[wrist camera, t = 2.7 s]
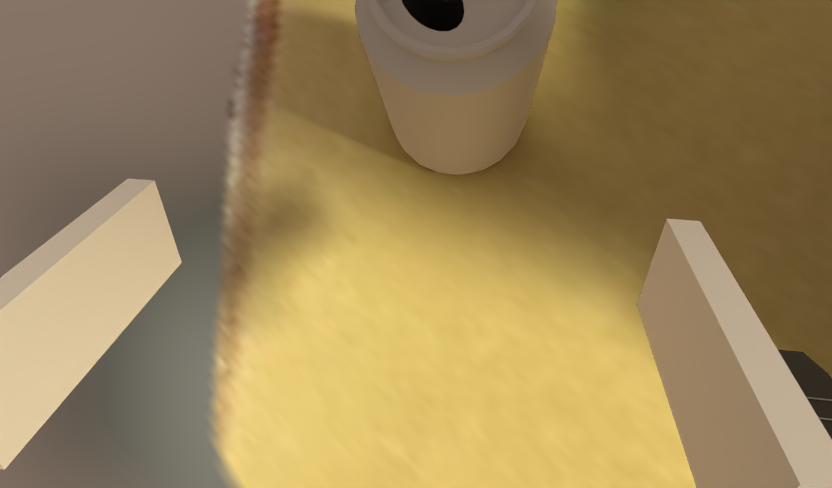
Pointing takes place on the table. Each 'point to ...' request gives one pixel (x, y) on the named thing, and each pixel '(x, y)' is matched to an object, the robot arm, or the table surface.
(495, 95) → the can
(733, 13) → the table surface
